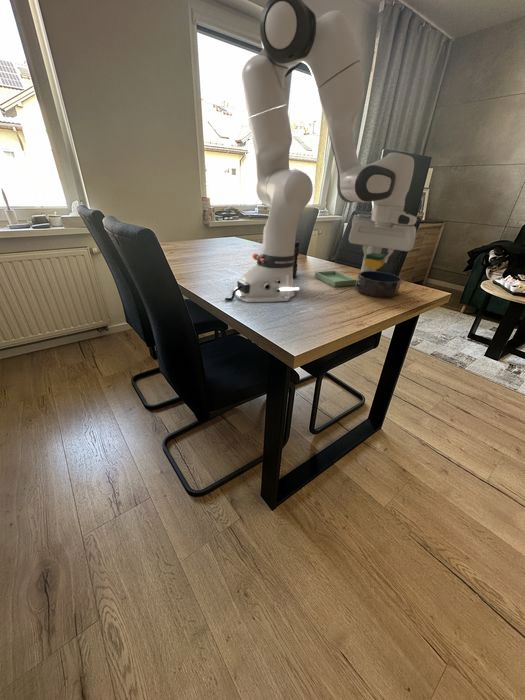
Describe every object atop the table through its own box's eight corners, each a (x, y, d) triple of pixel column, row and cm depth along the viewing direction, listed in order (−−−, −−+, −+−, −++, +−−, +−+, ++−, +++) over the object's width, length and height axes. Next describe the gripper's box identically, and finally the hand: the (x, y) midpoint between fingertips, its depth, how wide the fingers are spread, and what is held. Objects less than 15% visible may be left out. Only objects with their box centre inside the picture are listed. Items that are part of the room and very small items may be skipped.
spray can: (376, 281, 124) (388, 233, 113) (361, 281, 124) (372, 232, 113) (371, 277, 129) (382, 231, 119) (357, 277, 129) (367, 230, 119)
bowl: (374, 300, 103) (378, 283, 100) (347, 287, 115) (350, 272, 112) (406, 296, 108) (411, 280, 105) (377, 284, 121) (381, 270, 118)
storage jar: (278, 279, 120) (280, 242, 113) (271, 273, 128) (273, 238, 121) (299, 278, 123) (303, 242, 115) (291, 272, 131) (294, 238, 123)
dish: (334, 287, 115) (335, 281, 113) (314, 276, 127) (315, 271, 125) (355, 284, 118) (356, 279, 117) (334, 275, 130) (335, 270, 129)
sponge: (377, 268, 92) (380, 257, 90) (363, 266, 94) (366, 255, 92) (382, 265, 97) (385, 254, 95) (369, 263, 99) (372, 252, 97)
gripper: (350, 213, 90) (342, 257, 97) (419, 219, 81) (404, 268, 88) (356, 212, 95) (348, 254, 102) (422, 218, 86) (408, 264, 93)
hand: (374, 261), depth 95 cm, fingers closed on sponge, 4 cm apart
